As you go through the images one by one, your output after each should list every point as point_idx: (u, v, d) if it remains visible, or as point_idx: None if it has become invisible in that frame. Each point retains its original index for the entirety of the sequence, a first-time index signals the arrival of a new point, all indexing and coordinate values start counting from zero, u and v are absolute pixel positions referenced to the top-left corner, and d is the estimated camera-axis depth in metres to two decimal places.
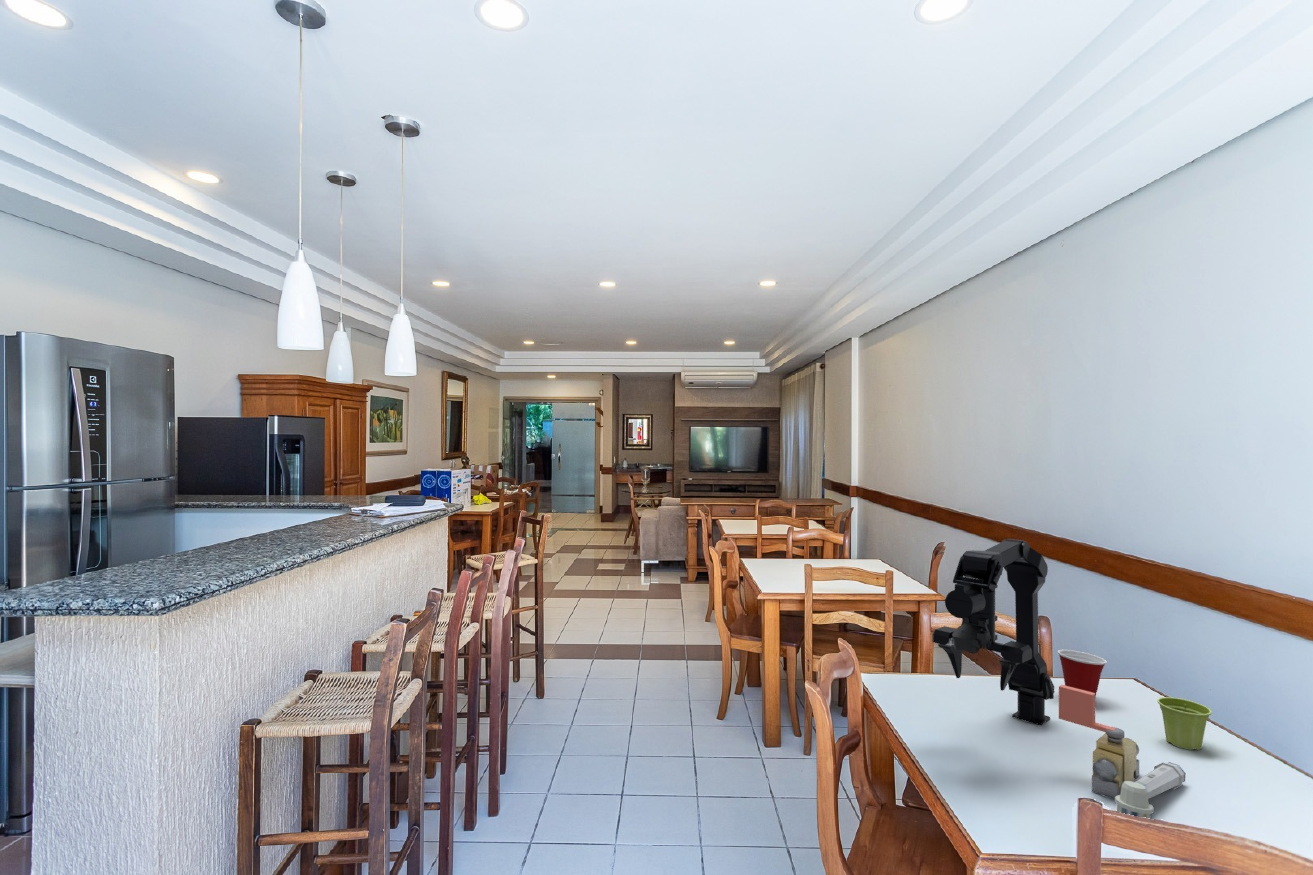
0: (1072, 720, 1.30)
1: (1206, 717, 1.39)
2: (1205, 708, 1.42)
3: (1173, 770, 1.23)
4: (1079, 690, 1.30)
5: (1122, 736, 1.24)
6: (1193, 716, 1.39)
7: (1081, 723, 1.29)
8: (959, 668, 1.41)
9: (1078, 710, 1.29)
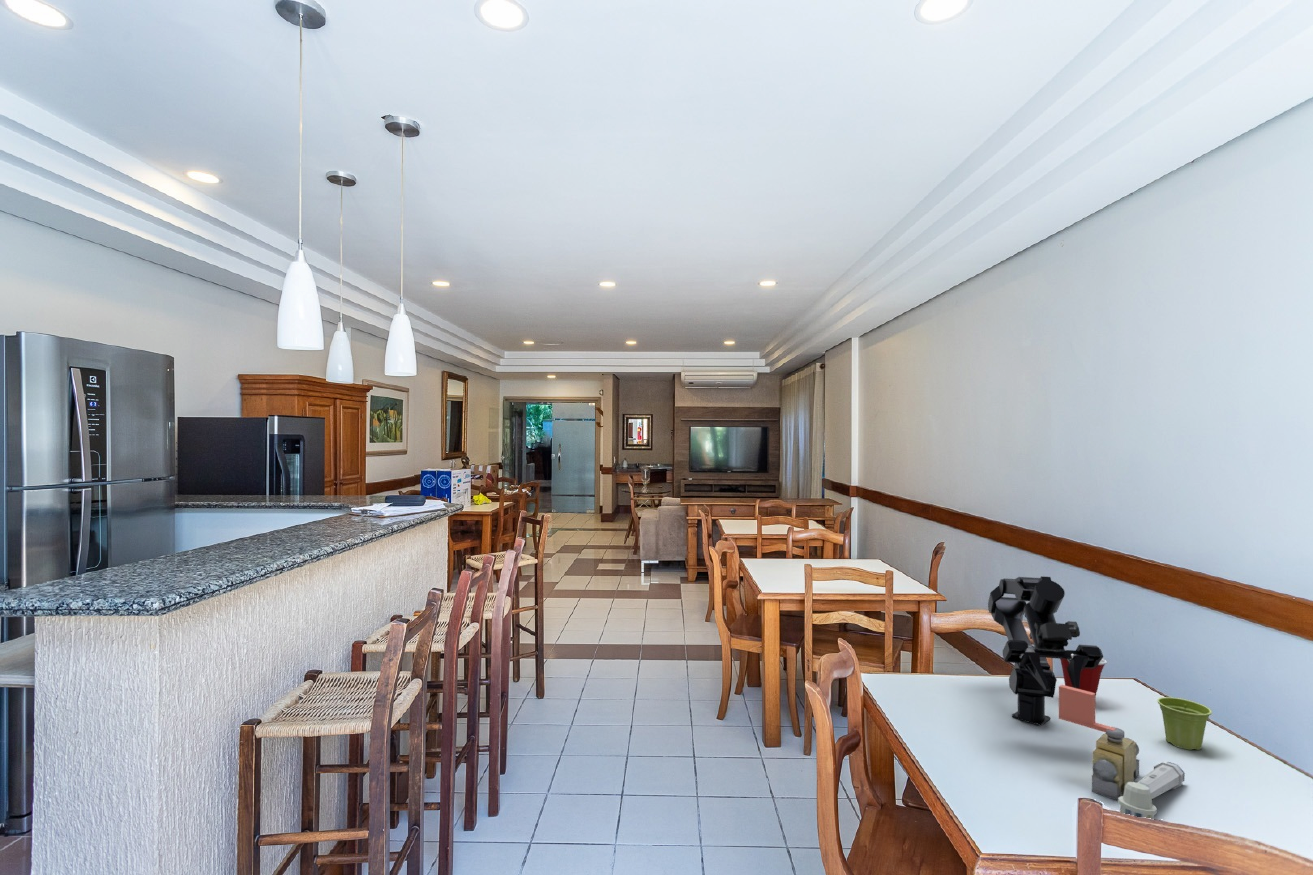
0: (1072, 720, 1.30)
1: (1206, 717, 1.39)
2: (1205, 708, 1.42)
3: (1173, 770, 1.23)
4: (1079, 690, 1.30)
5: (1122, 736, 1.24)
6: (1193, 716, 1.39)
7: (1081, 723, 1.29)
8: None
9: (1078, 710, 1.29)
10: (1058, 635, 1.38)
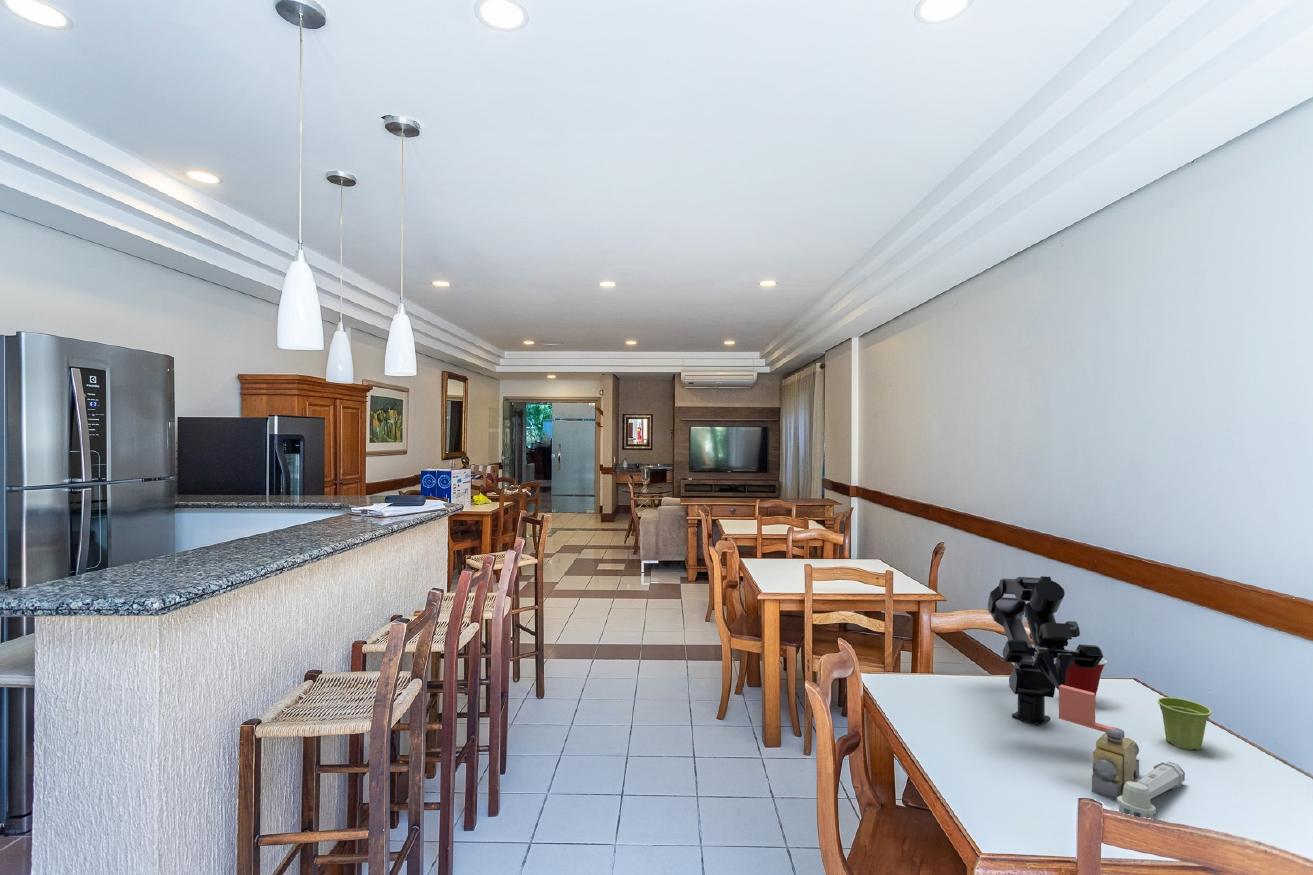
0: (1072, 720, 1.30)
1: (1206, 717, 1.39)
2: (1205, 708, 1.42)
3: (1173, 770, 1.23)
4: (1079, 690, 1.30)
5: (1122, 736, 1.24)
6: (1193, 716, 1.39)
7: (1081, 723, 1.29)
8: None
9: (1078, 710, 1.29)
10: (1058, 635, 1.38)
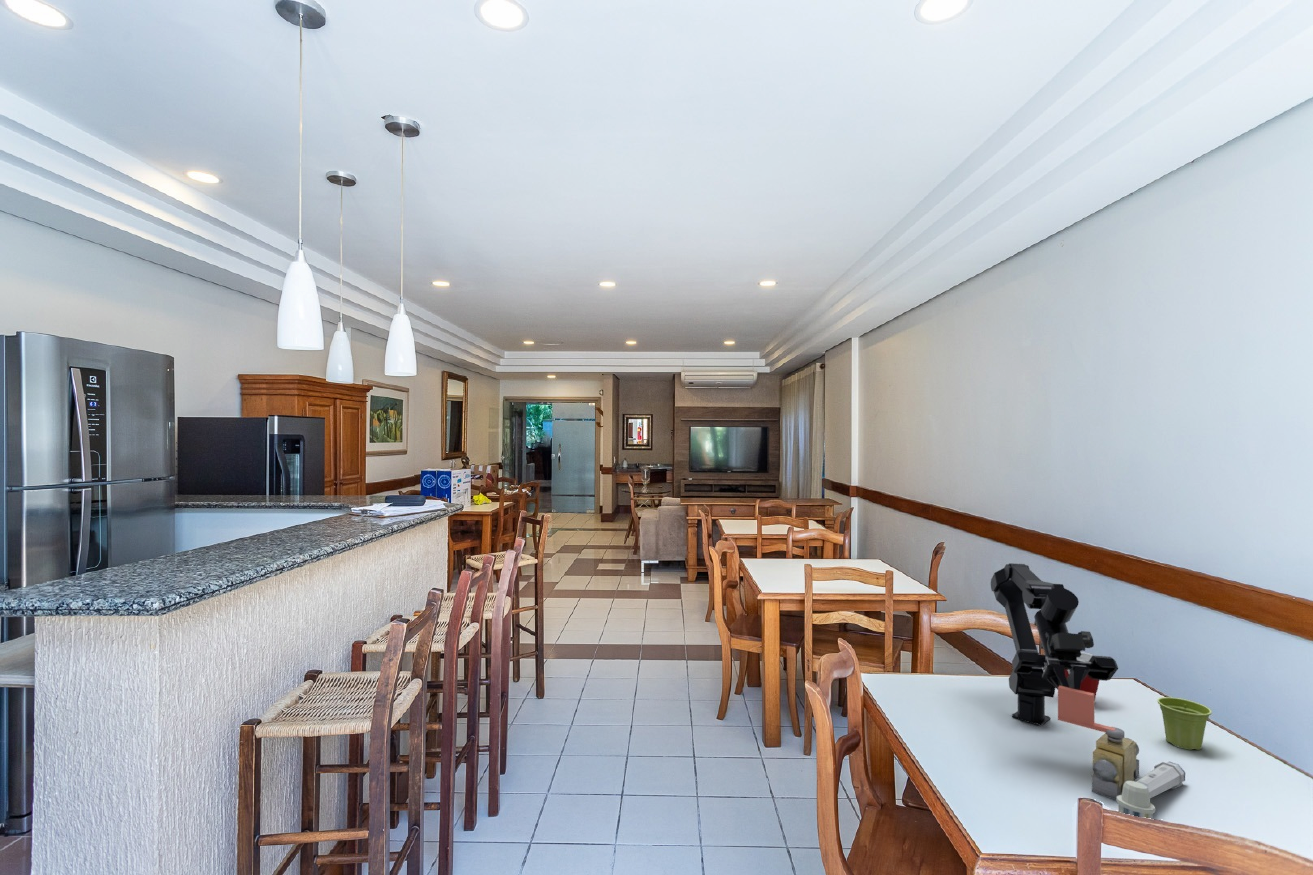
0: (1071, 721, 1.30)
1: (1206, 717, 1.39)
2: (1205, 708, 1.42)
3: (1173, 770, 1.23)
4: (1078, 691, 1.30)
5: (1122, 736, 1.24)
6: (1193, 716, 1.39)
7: (1081, 724, 1.28)
8: None
9: (1078, 711, 1.29)
10: (1071, 646, 1.32)
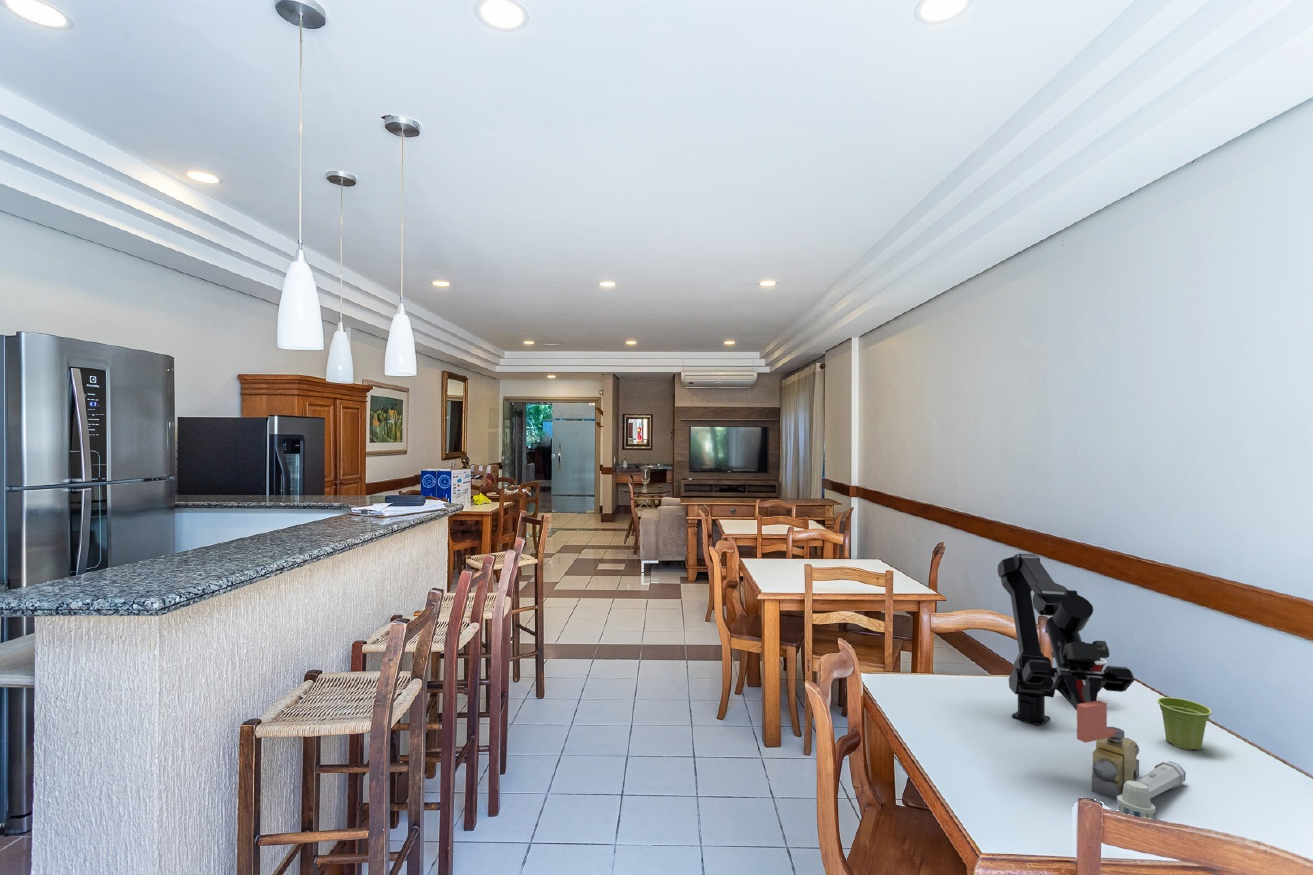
0: (1094, 738, 1.22)
1: (1206, 717, 1.39)
2: (1205, 708, 1.42)
3: (1173, 770, 1.24)
4: (1093, 703, 1.23)
5: None
6: (1193, 716, 1.39)
7: (1099, 737, 1.23)
8: None
9: (1098, 725, 1.22)
10: (1085, 656, 1.26)
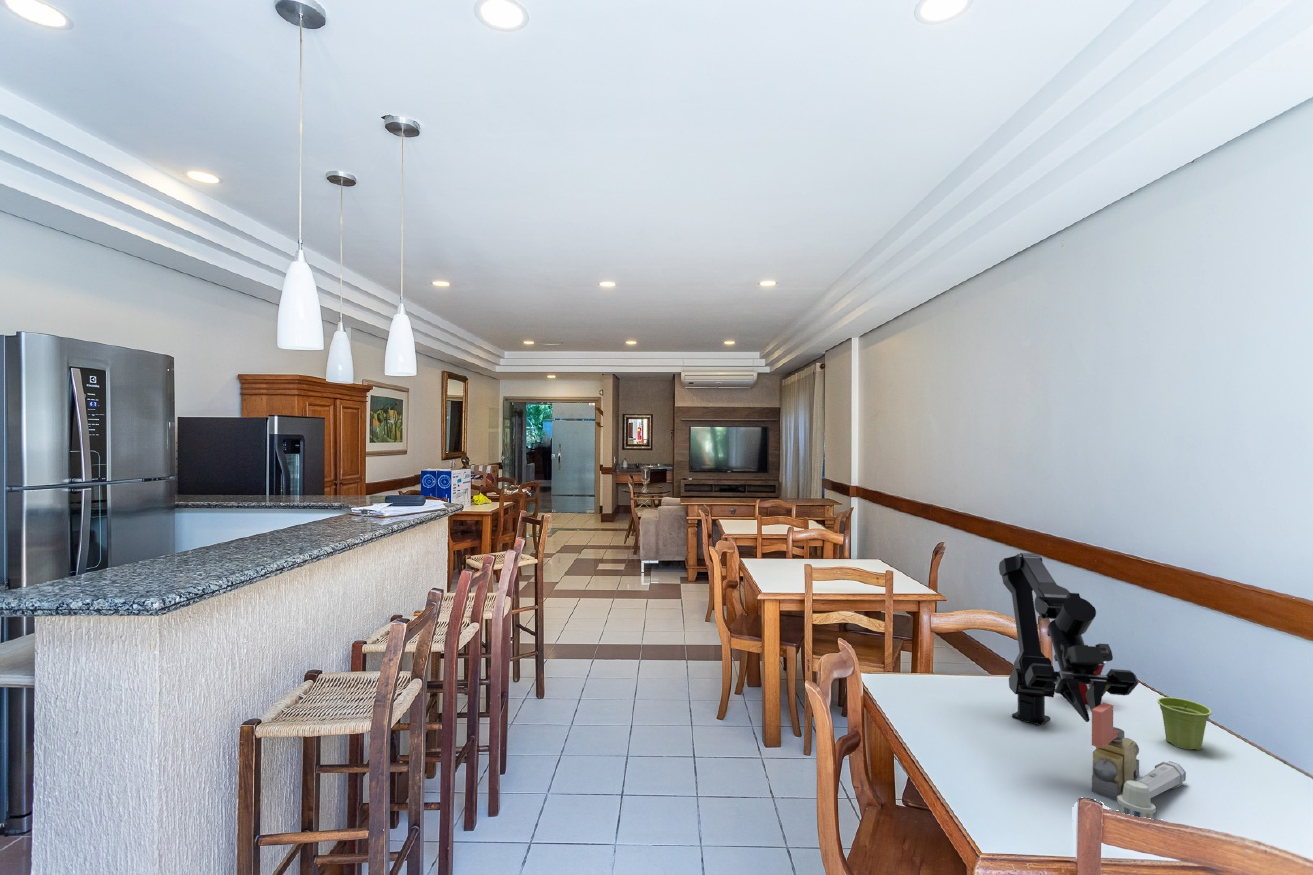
0: (1106, 742, 1.20)
1: (1206, 717, 1.39)
2: (1205, 708, 1.42)
3: (1173, 770, 1.24)
4: (1103, 706, 1.22)
5: None
6: (1193, 716, 1.39)
7: (1109, 740, 1.21)
8: None
9: (1108, 728, 1.21)
10: (1089, 659, 1.24)
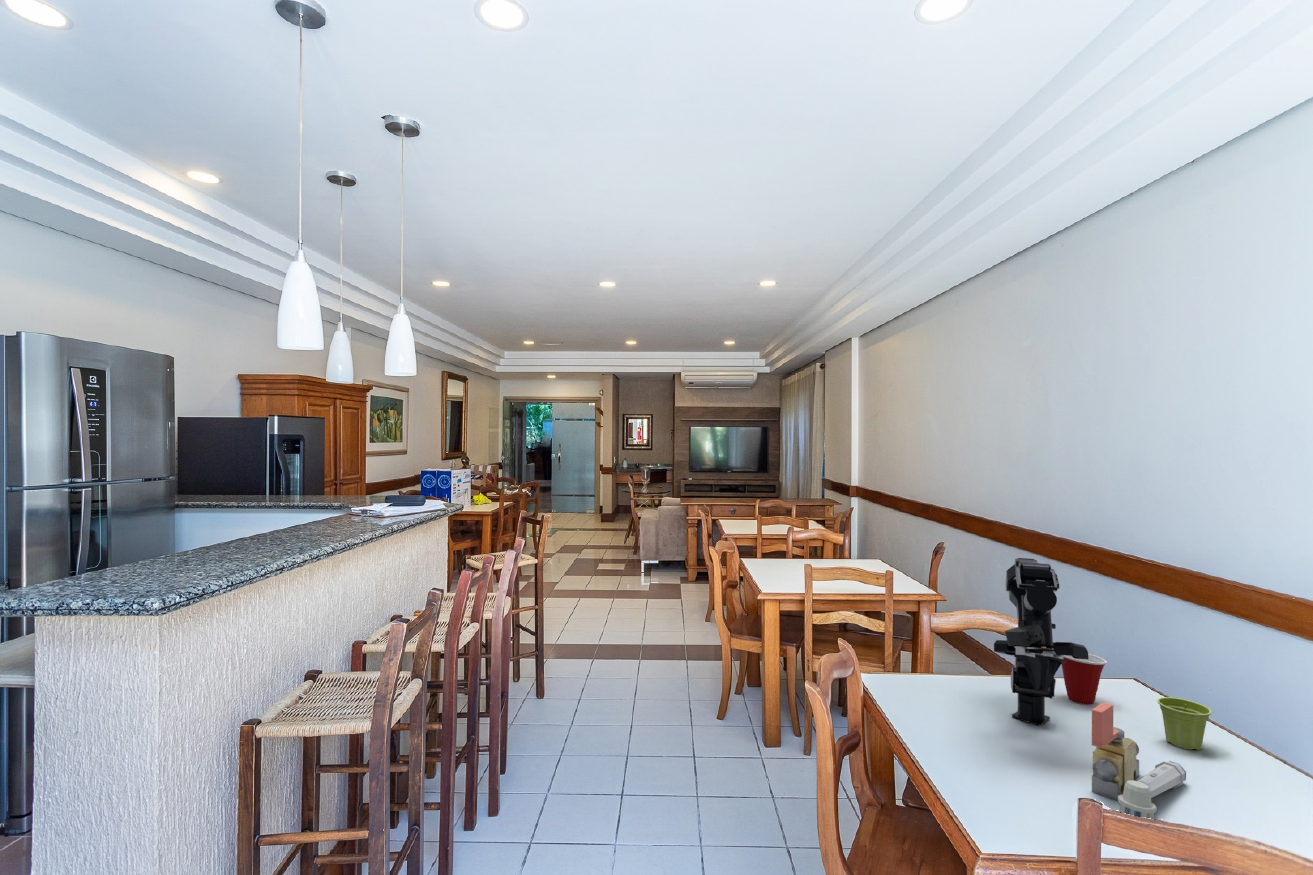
0: (1106, 742, 1.20)
1: (1206, 717, 1.39)
2: (1205, 708, 1.42)
3: (1174, 769, 1.24)
4: (1103, 706, 1.22)
5: None
6: (1193, 716, 1.39)
7: (1109, 740, 1.21)
8: (1037, 680, 1.43)
9: (1108, 728, 1.21)
10: (1014, 643, 1.42)
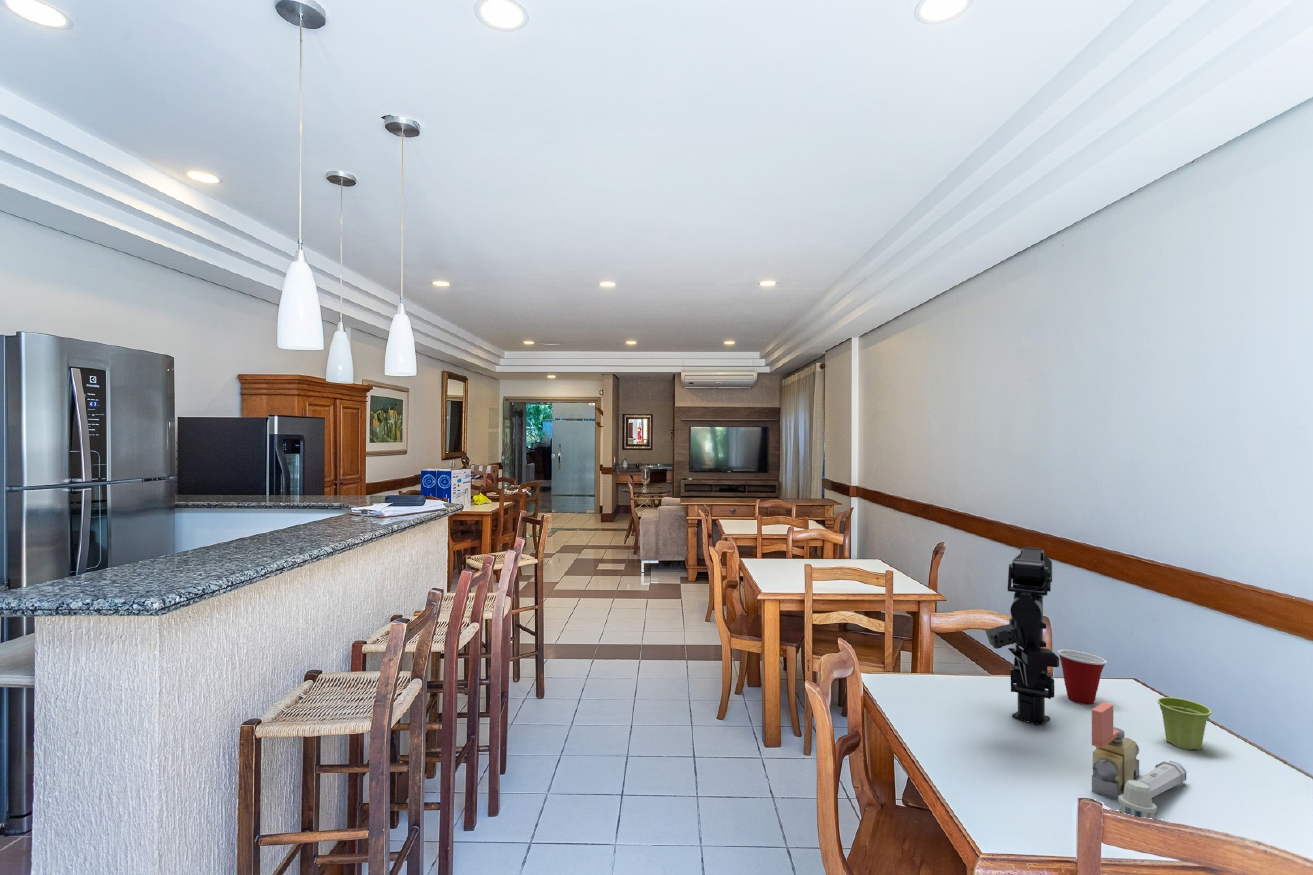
0: (1106, 742, 1.20)
1: (1206, 717, 1.39)
2: (1205, 708, 1.42)
3: (1174, 769, 1.24)
4: (1103, 706, 1.22)
5: None
6: (1193, 715, 1.39)
7: (1109, 740, 1.21)
8: None
9: (1108, 728, 1.21)
10: (990, 643, 1.47)
